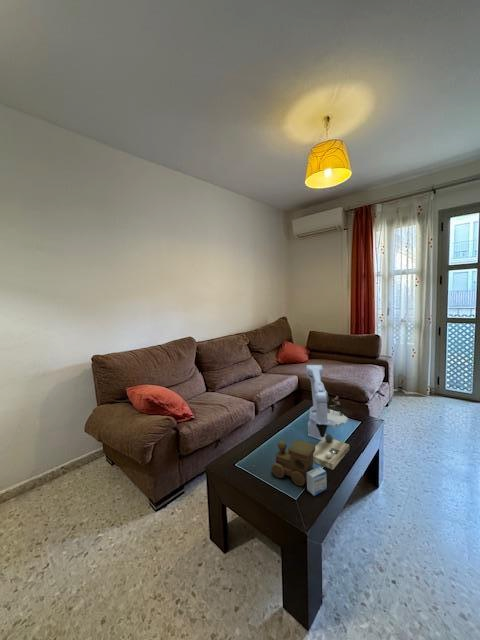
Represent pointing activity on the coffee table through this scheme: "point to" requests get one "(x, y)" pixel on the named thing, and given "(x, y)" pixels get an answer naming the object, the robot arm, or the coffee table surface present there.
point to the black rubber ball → (328, 438)
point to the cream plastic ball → (328, 454)
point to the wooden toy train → (294, 461)
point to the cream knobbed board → (326, 446)
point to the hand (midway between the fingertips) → (322, 436)
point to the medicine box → (316, 481)
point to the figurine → (336, 414)
